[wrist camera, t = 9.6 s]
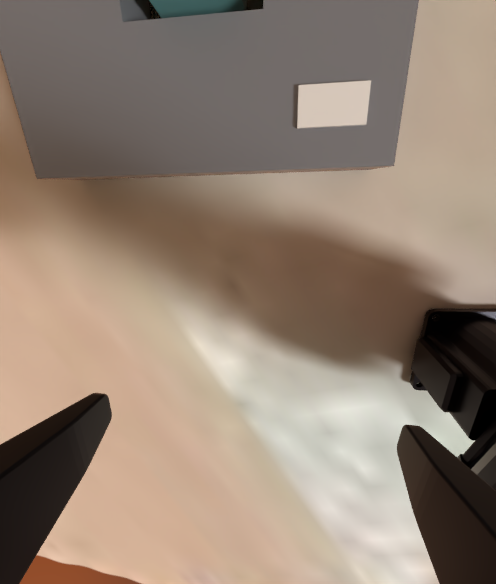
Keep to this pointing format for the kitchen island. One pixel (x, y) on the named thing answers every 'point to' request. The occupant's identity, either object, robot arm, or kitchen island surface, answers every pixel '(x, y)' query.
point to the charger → (196, 7)
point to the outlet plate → (207, 86)
